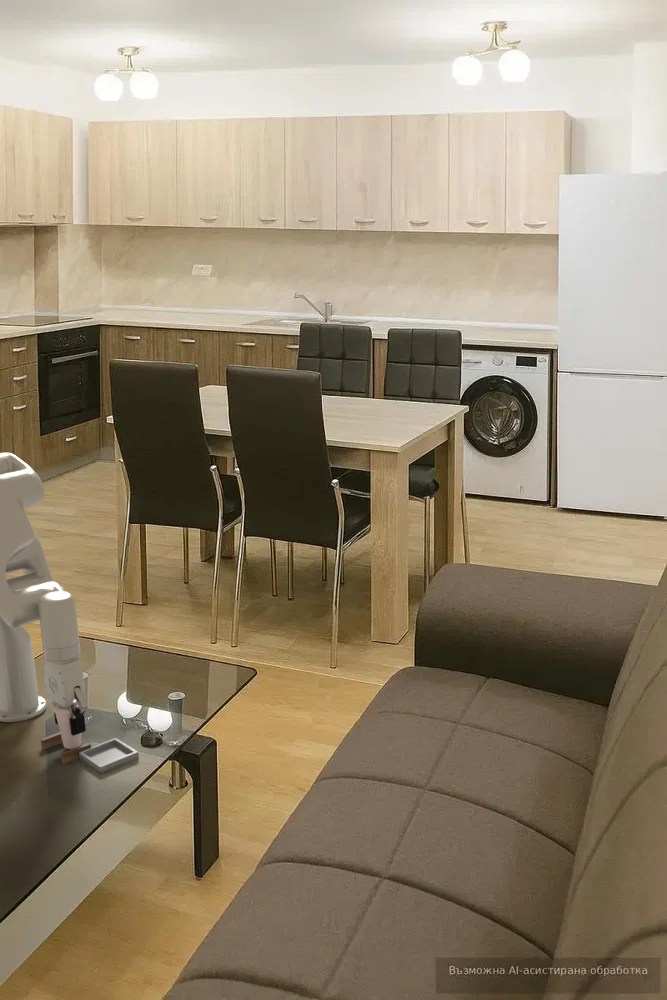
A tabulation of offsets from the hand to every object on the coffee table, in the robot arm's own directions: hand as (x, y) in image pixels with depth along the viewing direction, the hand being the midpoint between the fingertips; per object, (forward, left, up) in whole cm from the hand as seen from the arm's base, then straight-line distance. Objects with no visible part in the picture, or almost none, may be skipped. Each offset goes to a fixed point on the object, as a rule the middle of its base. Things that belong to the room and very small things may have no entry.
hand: (70, 727), depth 236 cm
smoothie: (0, 0, -4) cm, 4 cm away
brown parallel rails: (0, -2, -5) cm, 5 cm away
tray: (+10, +3, -5) cm, 12 cm away
